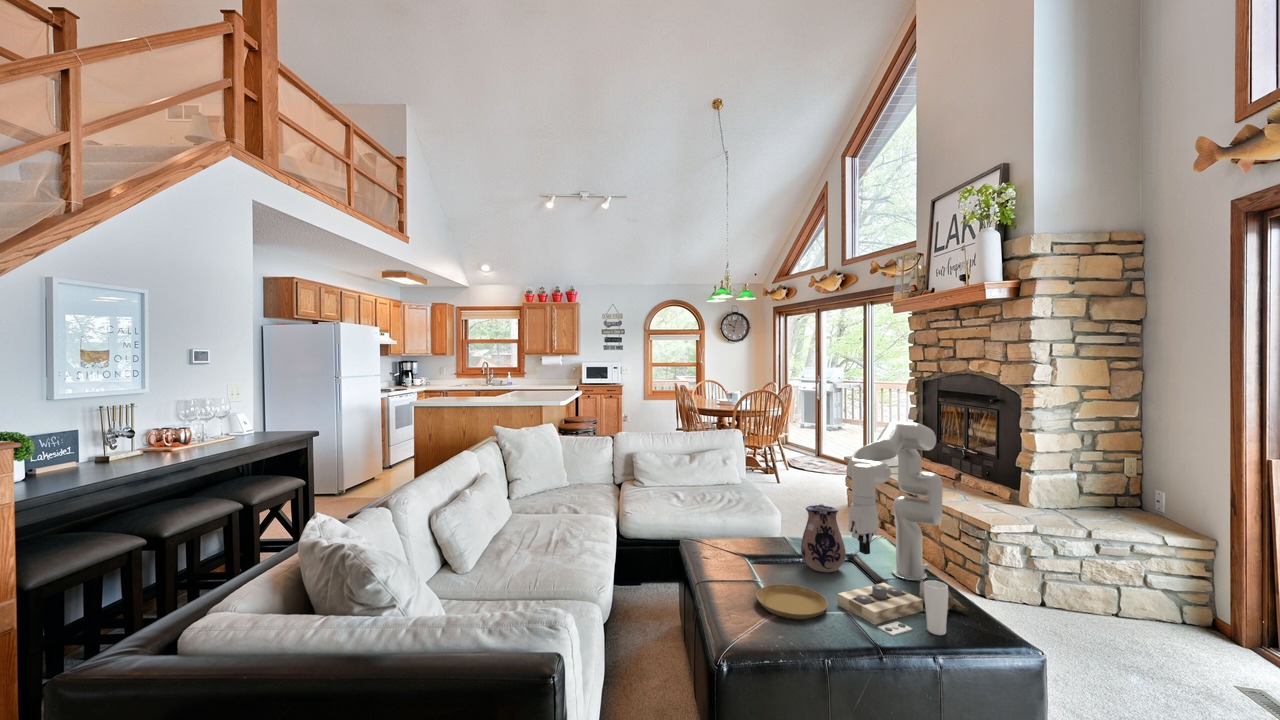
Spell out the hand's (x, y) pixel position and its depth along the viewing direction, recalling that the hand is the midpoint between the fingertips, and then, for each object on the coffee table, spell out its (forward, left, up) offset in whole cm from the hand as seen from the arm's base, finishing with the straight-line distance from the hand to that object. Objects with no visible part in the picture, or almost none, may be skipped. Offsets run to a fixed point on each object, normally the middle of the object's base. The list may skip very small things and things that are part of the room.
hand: (864, 552), depth 186 cm
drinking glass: (-8, +21, -20) cm, 30 cm away
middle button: (-6, +1, -17) cm, 18 cm away
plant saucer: (+21, -13, -20) cm, 32 cm away
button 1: (+2, +1, -19) cm, 20 cm away
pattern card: (+2, +14, -20) cm, 24 cm away
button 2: (-13, +1, -19) cm, 24 cm away
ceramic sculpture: (-24, +10, -20) cm, 33 cm away
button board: (-6, +1, -20) cm, 20 cm away
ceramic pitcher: (-16, -37, -20) cm, 45 cm away
